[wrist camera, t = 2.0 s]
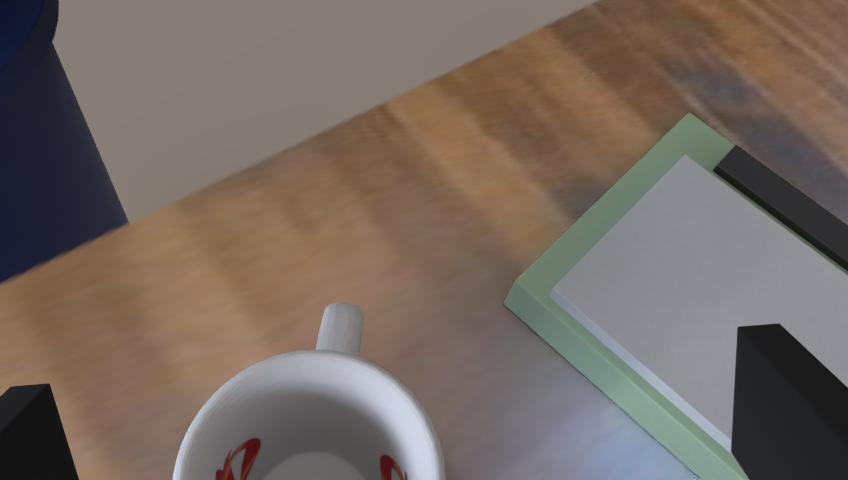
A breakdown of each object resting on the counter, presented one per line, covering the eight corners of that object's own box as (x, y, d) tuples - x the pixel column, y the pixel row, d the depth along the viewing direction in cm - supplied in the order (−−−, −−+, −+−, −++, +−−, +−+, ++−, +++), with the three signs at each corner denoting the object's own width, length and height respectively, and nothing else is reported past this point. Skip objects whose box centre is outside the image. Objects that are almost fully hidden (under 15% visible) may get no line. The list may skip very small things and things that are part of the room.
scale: (502, 303, 33) (519, 272, 31) (669, 139, 40) (696, 101, 37) (794, 563, 29) (844, 553, 26) (926, 330, 36) (977, 303, 33)
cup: (250, 342, 31) (232, 252, 24) (431, 369, 31) (464, 288, 24) (180, 623, 25) (130, 611, 18) (402, 651, 26) (434, 648, 19)
